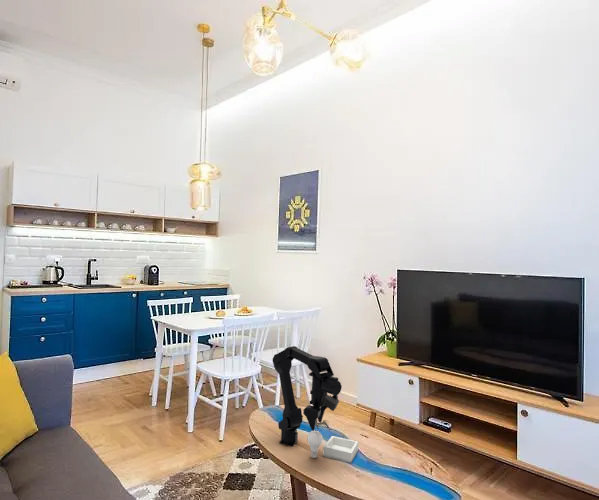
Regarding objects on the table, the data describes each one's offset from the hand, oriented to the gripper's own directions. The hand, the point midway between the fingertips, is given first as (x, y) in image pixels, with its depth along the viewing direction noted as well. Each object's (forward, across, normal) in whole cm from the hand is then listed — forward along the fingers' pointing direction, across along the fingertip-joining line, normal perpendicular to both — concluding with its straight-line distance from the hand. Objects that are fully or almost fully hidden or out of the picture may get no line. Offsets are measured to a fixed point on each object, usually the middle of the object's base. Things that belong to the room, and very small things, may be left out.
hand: (316, 426), depth 173 cm
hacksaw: (+14, +31, +4) cm, 34 cm away
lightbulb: (+13, 0, 0) cm, 13 cm away
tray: (+13, +9, -9) cm, 18 cm away
